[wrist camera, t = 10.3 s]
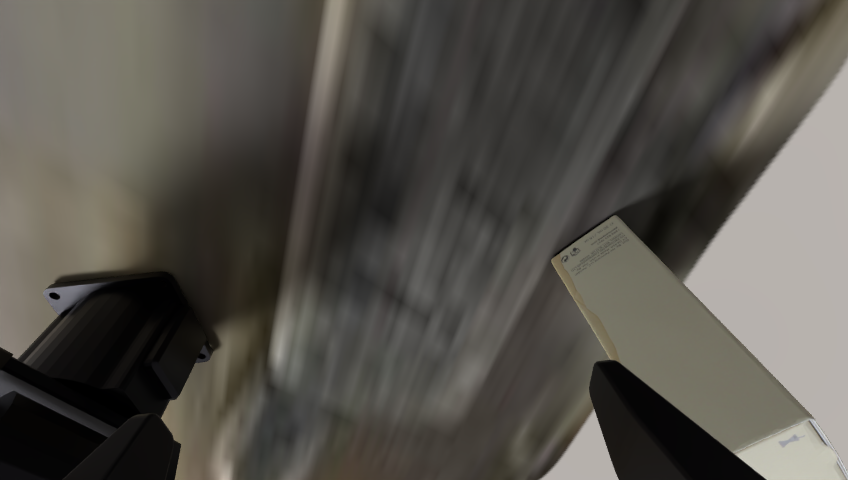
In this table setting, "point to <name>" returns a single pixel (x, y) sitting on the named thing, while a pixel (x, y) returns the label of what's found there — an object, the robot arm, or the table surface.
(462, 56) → the table surface
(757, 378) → the skincare box
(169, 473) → the robot arm
